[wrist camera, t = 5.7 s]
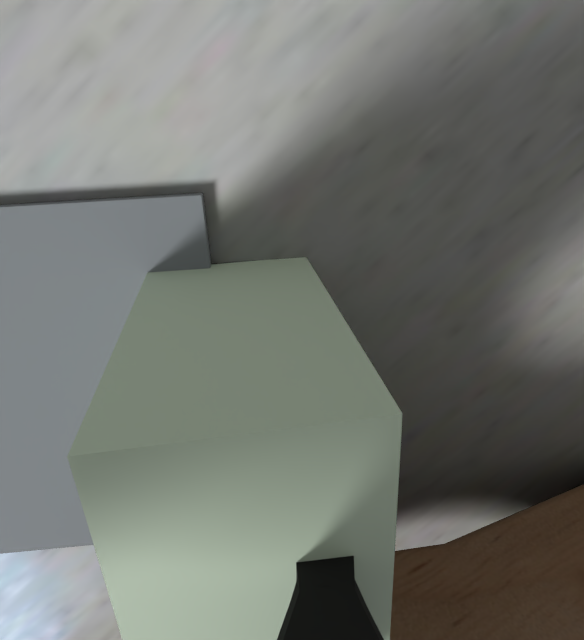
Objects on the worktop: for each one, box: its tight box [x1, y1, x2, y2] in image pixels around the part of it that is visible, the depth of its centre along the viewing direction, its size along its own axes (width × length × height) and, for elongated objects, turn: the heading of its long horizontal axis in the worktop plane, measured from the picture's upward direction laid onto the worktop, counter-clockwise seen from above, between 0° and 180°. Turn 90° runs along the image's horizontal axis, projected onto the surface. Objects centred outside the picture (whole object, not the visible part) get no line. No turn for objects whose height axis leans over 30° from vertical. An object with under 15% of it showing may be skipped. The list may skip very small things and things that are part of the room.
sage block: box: [67, 257, 403, 640], centre depth 12 cm, size 4×8×8 cm, turn 3°
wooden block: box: [390, 484, 584, 640], centre depth 16 cm, size 9×4×18 cm
